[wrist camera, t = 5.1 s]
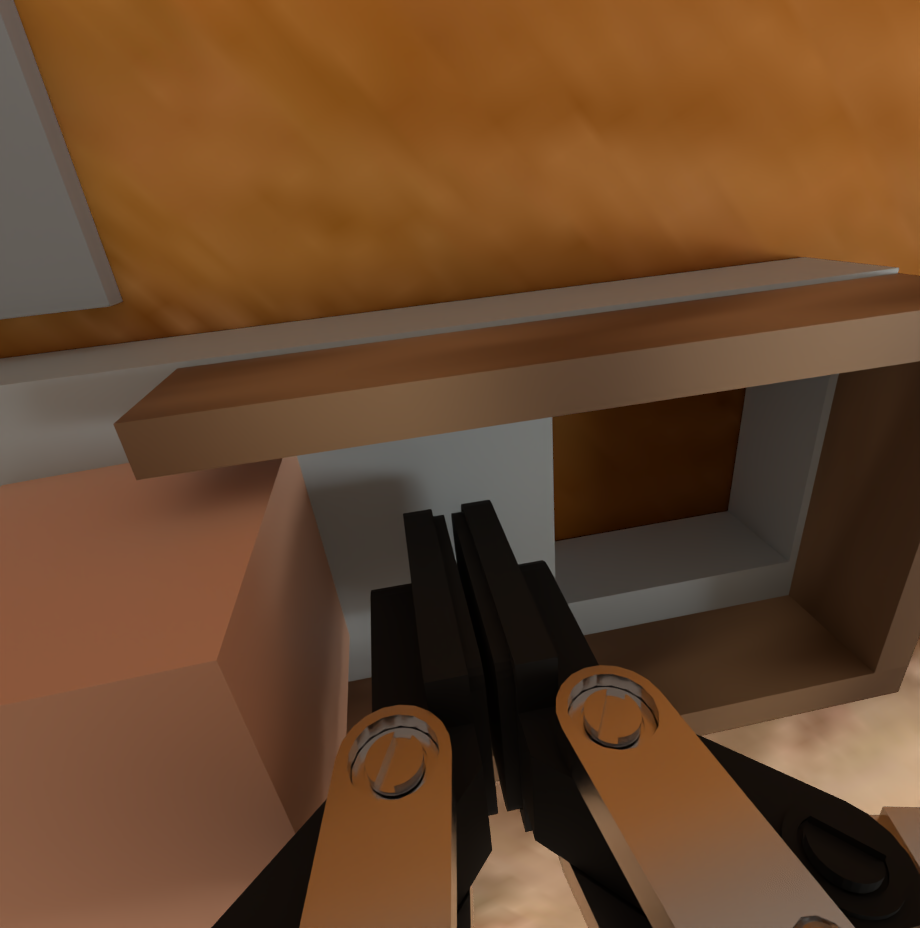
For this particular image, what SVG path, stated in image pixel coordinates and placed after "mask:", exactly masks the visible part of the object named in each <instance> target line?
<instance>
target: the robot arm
mask: <svg viewBox="0 0 920 928" xmlns="http://www.w3.org/2000/svg"><path fill="white" fill-rule="evenodd" d="M451 518H452V527H453V536H454V545H455V554H456V560H455V556H454V552H453V548H452V544H451V540H450V536H449V532H448V528H447V525H446V521H445V517H444V515H438V516H433V514H432V510H431V509H428V510H421V511H415V512H409V513H403V519H404V527H405V535H406V544H407V552H408V560H409V568H410V576H411V583H409V584H403V585H398V586H392V587H386V588H381V589H375V590H371V595H370V606H371V679H372V713H371V714H369V715H367V716H365V717H364V718H363V719H362V720H361V721H359V722H358V723H357V724H356V725H354V726H353V727H352V728H351V730H350V731H349V732H348V734H347V735H346V737H345V738H344V739H343V741H342V742H341V745H340V747H339V750H338V753H337V755H336V758H335V763H334V767H333V772H332V777H331V781H330V786H329V791H328V795H327V799H326V800H325V801H324V802H323V803H322V805H321V806H320V807H319V808H318V809H317V810H316V811H315V812H314V813H313V815H312V816H311V817H310V818H309V819H308V820H307V821H306V822H305V824H304V825H303V826H302V827H301V828H300V829H299V830H298V831H297V832H296V834H295V835H294V836H293V837H292V838H291V839H290V840H289V841H288V842H287V844H286V845H285V846H284V847H283V848H282V849H281V850H280V851H279V853H278V854H277V855H276V856H275V857H274V858H273V859H272V860H271V861H270V863H269V864H268V865H267V866H266V867H265V868H264V869H263V870H262V871H261V873H260V874H259V875H258V876H257V877H256V878H255V879H254V880H253V882H252V883H251V884H250V885H249V886H248V887H247V888H246V889H245V890H244V892H243V893H242V894H241V895H240V896H239V897H238V898H237V899H236V901H235V902H234V903H233V904H232V905H231V906H230V907H229V908H228V909H227V911H226V912H225V913H224V914H223V915H222V916H221V917H220V918H219V919H218V921H217V922H216V923H215V924H214V925H213V926H212V927H211V928H474V912H473V890H472V883H473V881H474V880H475V878H476V876H477V875H478V873H479V871H480V870H481V868H482V866H483V865H484V863H485V861H486V860H487V858H488V856H489V854H490V853H491V851H492V844H491V835H490V826H489V817H488V816H489V815H494V814H498V807H497V797H496V787H495V777H494V767H493V756H492V751H493V755H494V759H495V763H496V768H497V772H498V776H499V780H500V785H501V789H502V793H503V797H504V801H505V805H506V809H507V811H511V810H515V809H520V812H521V816H522V820H523V824H524V828H525V832H528V831H532V830H533V834H534V838H535V840H536V841H537V842H539V843H540V844H542V845H543V846H545V847H546V848H548V849H550V850H551V851H553V852H554V853H556V854H557V855H558V856H559V859H560V863H561V866H562V870H563V873H564V875H565V877H566V879H567V882H568V884H569V886H570V888H571V891H572V893H573V895H574V897H575V900H576V902H577V904H578V906H579V909H580V911H581V913H582V915H583V918H584V920H585V922H586V924H587V926H588V928H920V807H883V808H882V810H881V813H880V815H869V814H867V813H865V812H863V811H862V810H860V809H858V808H856V807H855V806H853V805H851V804H849V803H848V802H846V801H844V800H841V799H839V798H837V797H835V796H833V795H830V794H828V793H826V792H824V791H822V790H819V789H817V788H815V787H813V786H810V785H808V784H806V783H804V782H802V781H799V780H797V779H795V778H793V777H790V776H788V775H786V774H784V773H782V772H779V771H777V770H775V769H773V768H771V767H768V766H766V765H764V764H762V763H759V762H757V761H755V760H753V759H751V758H748V757H746V756H744V755H742V754H739V753H737V752H735V751H733V750H731V749H728V748H726V747H724V746H722V745H720V744H717V743H715V742H713V741H711V740H708V739H706V738H704V737H702V736H700V735H697V734H695V732H694V731H693V730H692V729H691V728H690V726H689V725H688V724H687V723H686V722H685V720H684V719H683V718H682V717H681V715H680V714H679V713H678V712H677V711H676V709H675V708H674V707H673V706H672V704H671V703H670V702H669V701H668V700H667V698H666V697H665V696H664V695H663V694H662V692H661V691H660V690H659V689H658V688H657V687H656V686H654V685H653V684H652V683H651V682H650V681H649V680H648V679H646V678H644V677H643V676H641V675H639V674H637V673H635V672H634V671H631V670H628V669H624V668H621V667H618V666H606V665H599V664H598V662H597V660H596V658H595V656H594V654H593V652H592V650H591V648H590V646H589V645H588V643H587V641H586V639H585V637H584V635H583V633H582V631H581V629H580V627H579V625H578V623H577V621H576V619H575V617H574V615H573V613H572V611H571V609H570V608H569V606H568V604H567V602H566V600H565V598H564V596H563V594H562V592H561V590H560V588H559V586H558V584H557V582H556V580H555V578H554V576H553V574H552V572H551V570H550V569H549V567H548V565H547V564H546V562H545V561H543V560H540V561H535V562H529V563H523V564H518V563H517V561H516V558H515V556H514V554H513V551H512V549H511V547H510V544H509V542H508V540H507V537H506V535H505V533H504V530H503V528H502V526H501V524H500V521H499V519H498V517H497V514H496V512H495V510H494V507H493V505H492V503H491V501H490V500H483V501H477V502H471V503H464V504H461V512H456V513H451ZM456 562H457V563H456Z"/></svg>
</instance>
